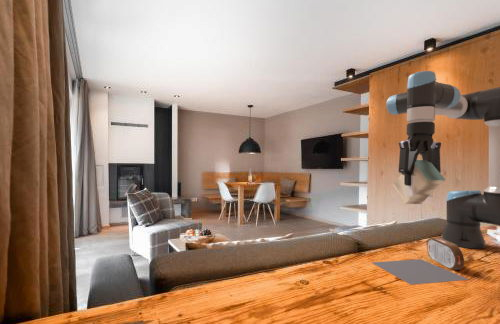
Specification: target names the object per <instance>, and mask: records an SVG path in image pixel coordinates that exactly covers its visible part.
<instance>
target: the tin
mask: <svg viewBox="0 0 500 324" xmlns="http://www.w3.org/2000/svg"><path fill="white" fill-rule="evenodd" d="M426 248H427V249H426V250H427V254H428V256H429V258H430V259H431V260H432V261H435V262H436V263H438V264H439V265H442V266H443V267H446V268H447V269H449V270H452V271H456V270H457V271H461V270H462V269H463V268H464V265H465V257H464V254H463V252H462V250H461V247H459V246H457V245H455V244H454V243H451V242H449V241H446V240H444V239H442V238H441V237H439V236H436V237H429V238H428V239H427V241H426Z"/></svg>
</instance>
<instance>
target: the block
mask: <svg viewBox="0 0 500 324" xmlns="http://www.w3.org/2000/svg"><path fill="white" fill-rule="evenodd" d="M412 175H413V176H415V197H410V196H406V185H405V184H404V181H405V180H404V177H405V176H404V175H402V173H400V176H399V177H398V178H397V179H396V180H395V182H394V183H393V184H392V186H393V188H394V189H395V191H396V192H397V194H398V196H399V197H400V198H401V200H402V201H403V204H405V205H422V204H423V203H424V202H425V201H426V200H427V199H428V198H429V197H430V196H429V195H430V194H431V193H432V192H433V193H434V192H435V190H437V189H438V187H440V186H441V185H442V184H443V182H445V180H446V178H445V177H444V176H443V175H442V173H441V172H439V171H438V170H437V169H436V168H435V167H434V165H433V164H432V163H431V162H429V161H428V160H423V159H417V160H416V162H415V167H414V171H413V174H412Z"/></svg>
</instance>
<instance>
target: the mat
mask: <svg viewBox="0 0 500 324" xmlns="http://www.w3.org/2000/svg"><path fill="white" fill-rule="evenodd" d="M370 263H371V264H373V265H375V266H376V267H378V268H380V269H382V270H384V271H385V272H387V273H389V274H391V275H392V276H394V277H396V278H398V279H399V280H402V281H403V282H405V283H407V284H408V285H421V284H422V285H423V284H434V283H435V284H436V283H447V282H456V281H459V282H460V281H466V280H467V281H469V280H470V279H469V278H466V277H464V276H462V275H460V274H457V273H454V272H452V271H450V270H448V269H445V268H443V267H440V266H438V265H436V264H433V263H431V262H429V261H427V260H424V259H422V258H419V259H418V258H417V259H405V260H404V259H403V260H390V261H388V260H387V261H386V260H385V261H371V262H370Z"/></svg>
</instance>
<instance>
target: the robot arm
mask: <svg viewBox="0 0 500 324" xmlns="http://www.w3.org/2000/svg"><path fill="white" fill-rule="evenodd" d="M406 85H407V86H406V90H407V91H406V92H402V93H401V92H400V93H397V94H393V95H391V96H389V97H388V98H387V100H386V110H387V112H388V113H389V114H390V115H393V116H395V115H402V114H406V122H407V124H406V136H408V137H407V139H406V140H401V141H399V142H398V146H399V160H398V161H399V162H398V173H399V174H402V175H404V176H405V177H404V180H405V181H404V184H405V185H406V196H410V197H415V176H413V175H412V174H413V171H414V167H415V162H416V160H418V156H419V155H421V160H428V161H429V162H431V163H432V164H433V165H434V167H435V168H436V169H437V170H438V171H439V172H440V173H441V171H442V169H441V147H442V142H440V141H439V142H437V141H434V139H433V136H434V135H435V133H436V128H435V127H436V123H435V121H436V116H445V117H447V118H448V119H457V120H469V121H472V120H473V121H478V120H479V121H480V120H483V123H484V124H485V125H486V126H488V186H487V187H486V188H485V189H483V193H482V190H477V189H476V190H474V189H473V190H451V191H449V192H447V195H446V200H445V202H446V223H445V226H444V228H443V231H442V233H441V237H440V238H442V239H444V240H446V241H449V242H451V243H454V244H455V245H457V246H458V247H459V248H466V249H467V248H468V249H476V250H477V249H485V248H486V240H485V237H484V235H483V232H482V229H481V223H482V224H488V225H489V224H490V225H494V226H499V227H500V86H499V87H495V88H489V89H484V90H479V91H475V92H471V93H466V94H461V90H460V89H459V88H458V87H456V86H454V85H452V84H449V83H447V84H446V83H443V82H438V81H437V76H436V72H434V71H431V70H421V71H417V72H415V73H414V72H413V73H412V74H410V75H409V76H408V78H407V84H406ZM428 197H430V198H431V197H434V191H433V192H432V193H431V194H430V195H429V196H428Z"/></svg>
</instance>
